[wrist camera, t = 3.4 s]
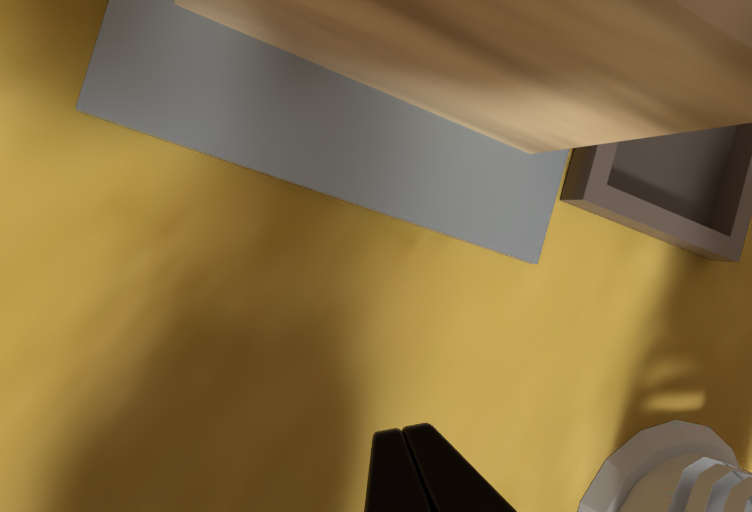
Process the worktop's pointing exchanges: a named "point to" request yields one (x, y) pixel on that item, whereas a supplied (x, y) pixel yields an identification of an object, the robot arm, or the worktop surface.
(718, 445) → the french press
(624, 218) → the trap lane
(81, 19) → the worktop surface
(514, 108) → the oak block
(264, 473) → the worktop surface
